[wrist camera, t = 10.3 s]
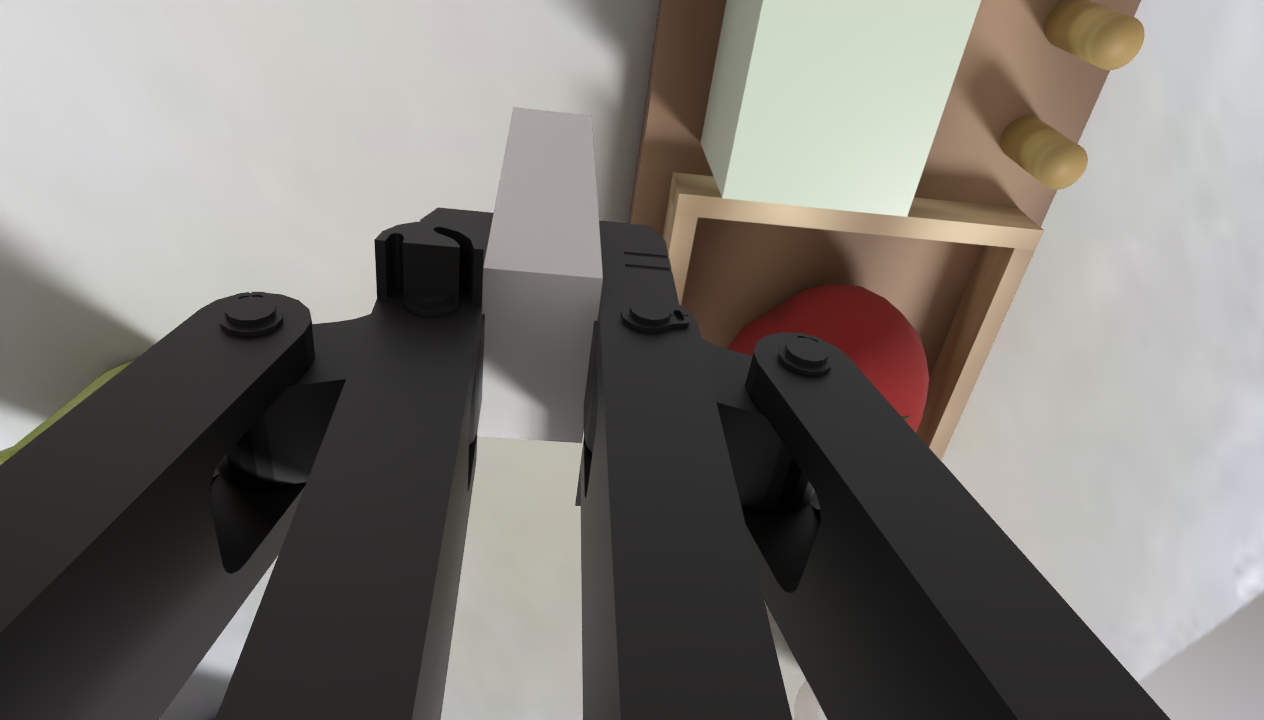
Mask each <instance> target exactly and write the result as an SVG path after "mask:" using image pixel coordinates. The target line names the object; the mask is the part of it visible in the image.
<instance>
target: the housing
mask: <svg viewBox="0 0 1264 720" xmlns="http://www.w3.org/2000/svg"><path fill="white" fill-rule="evenodd" d="M980 3H981V0H727V1H726V6H725V11H724V17H723V22H722V28H721V33H720V39H719V44H718V50H717V55H716V61H715V66H714V72H713V77H712V83H711V88H710V94H709V99H708V104H707V110H706V115H705V121H704V126H703V132H702V137H701V146H702V148H703V151H704V153H705V156H706V158H707V161H708V163H709V166H710V168H711V171H712V173H713V176H714V179H715V181H716V184H717V186H718V189H719V191H720V194H721V196H722V198H725V199H735V200H745V201H755V202H765V203H774V204H784V205H794V206H804V207H814V208H824V209H834V210H844V211H854V212H864V213H873V214H883V215H893V216H903V217H907V216H908V213H909V210H910V207H911V204H912V201H913V198H914V195H915V192H916V189H917V187H918V184H919V181H920V178H921V175H922V172H923V169H924V166H925V163H926V160H927V157H928V154H929V152H930V149H931V146H932V143H933V140H934V137H935V134H936V131H937V128H938V125H939V122H940V119H941V117H942V114H943V111H944V108H945V105H946V102H947V99H948V96H949V93H950V90H951V87H952V84H953V81H954V79H955V76H956V73H957V70H958V67H959V64H960V61H961V58H962V55H963V52H964V49H965V46H966V44H967V41H968V38H969V35H970V32H971V29H972V26H973V23H974V20H975V17H976V14H977V11H978V9H979V6H980Z"/></svg>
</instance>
